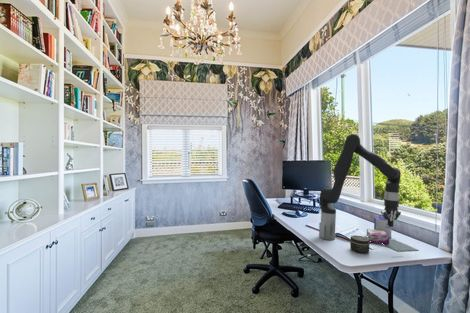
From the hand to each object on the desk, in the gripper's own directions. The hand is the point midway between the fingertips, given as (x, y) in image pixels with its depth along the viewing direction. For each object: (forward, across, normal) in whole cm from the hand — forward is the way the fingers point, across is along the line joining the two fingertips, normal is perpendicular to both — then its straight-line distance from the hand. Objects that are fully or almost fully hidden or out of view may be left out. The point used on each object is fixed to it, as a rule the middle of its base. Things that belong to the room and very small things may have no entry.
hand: (390, 226), depth 147 cm
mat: (+12, +4, 0) cm, 13 cm away
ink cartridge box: (+12, +10, +16) cm, 23 cm away
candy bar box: (+9, -6, +2) cm, 11 cm away
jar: (+12, -26, -6) cm, 29 cm away
